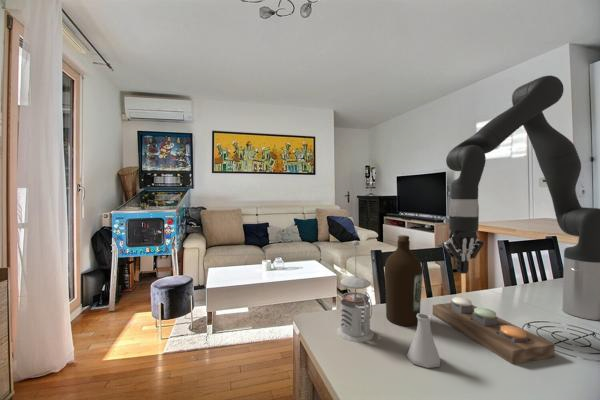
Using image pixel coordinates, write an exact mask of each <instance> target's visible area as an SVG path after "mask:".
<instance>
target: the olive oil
mask: <svg viewBox="0 0 600 400" xmlns="http://www.w3.org/2000/svg"><path fill="white" fill-rule="evenodd" d="M397 238H398V239H397V248H396V249H395V250H394V251H393V252H392V253H391V254H390V255H389V256H388V257H387V258H386V260H385V264H384V282H385V284H384V285H385V287H384V288H385V316H386V319H387V320H388V321H389V322H390V323H392V324H394V325H398V326H400V327H414V326H418V318H417V314H418V313H421V301H422V286H423V275H424V274H423V272H424V271H423V266H422V263H421V260H420V259H419V257H417V256H416V254H414V252H413V251H412V250H411V249H410V243H411V241H410V236H409V235H403V234H400V235H397Z"/></svg>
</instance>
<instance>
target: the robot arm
mask: <svg viewBox="0 0 600 400" xmlns="http://www.w3.org/2000/svg"><path fill="white" fill-rule="evenodd" d="M564 90H565V88H564V84H563V82H562V81H561V79H560V78H559V77H557V76H555V75H545V76H544V75H543V76H540V77H537V78H535V79H534V80H531V81H528V82H527V83H524V84H523V85H521V86H518V87H517V88H515V89H514V90H513V92H512V94H511V102H512V106H511V107H510V108H508V109H506V110H505V111H503V112H502V113H500V114H498V115H496V116H495V117H493V118H492V119H491V120H489V121H488V122H487V123H485V125H483V126H482V127H481V128H480V129H478V130H477V132H475V134H473V135H472V136H470V137H469V138H466V139H465V140H463V141H462V142H461V143H459V144H458V145H455V146H454V148H452V149H451V150H450V151H449V152H448V154H447V156H446V160H445V162H446V166H447V168H448V169H449V170H451V171H453V172H460V173H459V176H458V178H456V179H453V181H452V182H451V184H450V202H449V208H448V211H449V215H448V217H449V218H448V229H449V230H450V234H449V236H448V237H449V238H448V239H447V240H446V241H442V243H441V245H442V246H443V247H444V249H445V250H446V252H447V254H448V256H450V258H452V259H455V260H456V271H457V272H458V273H459V274H461V275H462V274H463V275H464V274H468V272H469V261H471V260H472V259H473V260H474V259H476V256H477V255H478V254H479V253H480V251H481V249H482V248H483V246H484V244H485V243H484V241H481V240H479V238H478V234H477V232H478V231H479V218H480V217H479V215H480V205H479V185H480V181H481V179H482V176H483V173H484V169H485V166H486V161H487V160H486V154H489V153H491V152H493V151H494V150H495V149H496V148H498V147H499V146H500V145H501V144H502V143H504V142H505V141H506V140H507V139H508V138H509V137H510V136H511V135H512V134H513V133H515V132H516V131H518V129H520V128H521V127H523V128H524V130H525V132H526V134H527V136H528V139H529V141H530V143H531V146H532V148H533V150H534V153H535V156H536V159H537V163H538V165H539V168H540V170H541V172H542V175H543V177H544V180H545V183H546V185H547V189H548V191H549V194H550V198H551V200H552V204H553V209H554V213H555V218H556V221H557V225H558V226H559V228H560V230H561V231H563V233H565V234H567V235H570V236H573V237H578V241H577V244H576V245H573V246H568V247H565V248H564V250H563V281H562V311H563V312H565V313H567V314H569V315H570V316H573V317H577V318H582V319H587V320H591V321H600V208H597V207H585V206H584V207H582V205H581V204H580V201H579V199H578V195H577V191H576V187H577V184H578V180H579V178H580V174H581V172H582V161H581V159H580V156H579V153H578V150H577V148H576V146H575V145H574V143H573V142H572V141H571V140H570V139H569V138H567V136H565V135H564V134H563V133H561V132H560V131H558V130H557V129H555V128H554V127H553V126H552V125H551V124H550V123H549V122H548V120H547V118H546V117H545V115H544V113H543V112H544V111H545V110H547V109H549V108H550V107H552V106H553V105H555V104H557V103H558V102H559V101H560V100H561V98H562V97H563V96H564V95H563V94H564Z"/></svg>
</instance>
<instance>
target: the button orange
mask: <svg viewBox="0 0 600 400" xmlns="http://www.w3.org/2000/svg"><path fill="white" fill-rule="evenodd" d="M520 328H521V327H520ZM520 328H517V327H514V326H508V325H504V326H501V330H499V335H501V336H503V337H504V338H506V339H508V340H510V341H512V342H514V343H518V342H525V341H528V336H526V332H525V331H524V330H525V329H524V330H522V329H523V328H522V329H520Z"/></svg>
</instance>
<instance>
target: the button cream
mask: <svg viewBox="0 0 600 400" xmlns="http://www.w3.org/2000/svg"><path fill="white" fill-rule="evenodd" d="M450 303H451V309H453V310H455V311H457V312H458V313H460V314H465V313H473V302H472V300H470V299H468V298H465V297H461V296H460V297H459V296H455V297H453V298H452V300H451V301H450Z"/></svg>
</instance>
